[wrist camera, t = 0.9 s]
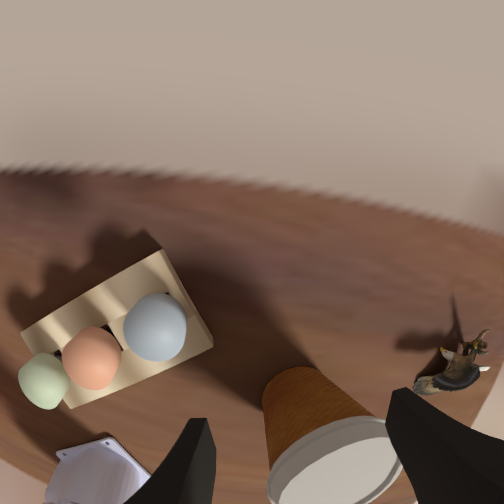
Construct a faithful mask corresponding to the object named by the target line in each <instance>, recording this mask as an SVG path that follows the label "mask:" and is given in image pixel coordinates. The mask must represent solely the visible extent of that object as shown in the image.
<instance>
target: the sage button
mask: <svg viewBox="0 0 504 504" xmlns="http://www.w3.org/2000/svg"><path fill="white" fill-rule="evenodd" d="M18 380H19V384H20V387H21V389H22V391H23V393H24V394H25V395H26V397H27V398H28V399H29V400H30V401H31V402H32V403H34V404H35V405H37V406H38V407H40V408H43V409H53V408H55V407H56V406H57V405H58V403H59V402H60V401H61V399H62V398H63V397H64V395H65V394H66V392H67V391H68V390H69V388H70V377H69V376H68V374H67V373H66V371H65V369H64V366H63V363H62V357H61V356H59V355H54V356H53V355H51V354H48V353H39V354H37V355H35V356H34V357H33V358H32V359H31V360H30V361H28V362H27V363H26V364H25V365H24V366H23V367H22V368H21V369H20V370H19V373H18Z"/></svg>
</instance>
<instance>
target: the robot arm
mask: <svg viewBox="0 0 504 504" xmlns="http://www.w3.org/2000/svg"><path fill="white" fill-rule="evenodd" d="M385 427H386V430H387V433H388V436H389V439H390V441H391V444H392V446H393V448H394V450H395V452H396V454H397V456H398V458H399V460H400V462H401V464H402V466H403V468H404V470H405V472H406V474H407V476H408V478H409V480H410V482H411V484H412V486H413V489H414V492H415V495H416V498H417V501H418V504H504V440H501V439H498V438H494V437H491V436H488V435H485V434H483V433H481V432H478V431H476V430H474V429H471V428H469V427H467V426H465V425H463V424H462V423H460V422H458V421H456V420H454V419H453V418H451V417H449V416H448V415H446V414H444V413H443V412H441V411H440V410H438V409H437V408H435V407H434V406H432V405H431V404H429V403H428V402H427V401H425V400H424V399H422V398H421V397H420V396H418V395H417V394H415V393H414V392H412V391H411V390H410V389H408V388H407V387H404V388H401V389H397V390H394V391H393V392H392V397H391V401H390V405H389V409H388V414H387V417H386V421H385ZM107 442H108V443H107ZM56 455H57V456H58V457H59V459H60V462H59V464H58V466H57V468H56V470H55V472H54V474H53V476H52V478H51V480H50V482H49V484H48V486H47V488H46V491H45V502H46V503H43V504H211V502H212V495H213V489H214V482H215V475H216V447H215V444H214V441H213V438H212V435H211V431H210V428H209V425H208V421H207V418H190V419H189V420H188V422H187V424H186V426H185V428H184V429H183V431H182V433H181V435H180V436H179V438H178V439H177V441H176V443H175V444H174V446H173V447H172V449H171V450H170V452H169V453H168V455H167V456H166V458H165V459H164V460H163V462H162V463H161V464H160V466H159V467H158V468H157V469H156V471H155V472H154V473H153V474H152V476H151V475H150V474H149V473H148V472H147V471H146V470H145V469H144V468H143V467H142V466H141V465H140V464H139V463H138V462H136V461H135V460H134V459H133V458H132V457H131V456H130V455H129V454H128V453H127V452H126V450H125V449H124V448H123V447H122V446H121V445H120V444H119V443H118V442H117V441H116V440H115V439H114V438H112V437H107V438H104V439H100V440H97V441H93V442H90V443H86V444H83V445H79V446H75V447H71V448H67V449H63V450H59V451H57V452H56Z"/></svg>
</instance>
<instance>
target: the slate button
mask: <svg viewBox="0 0 504 504" xmlns="http://www.w3.org/2000/svg"><path fill="white" fill-rule="evenodd" d="M186 329H187V315H186V312H185V310H184V308H183V306H182V305H181V304H180V303H179V302H178V301H177V300H176V299H175V298H173V297H172V296H170V295H167V294H164V293H151V294H148V295H145V296H144V297H142V298H141V299H140V300H139V301H138V302H137V303H136V304H135V305H134V307H133V308H132V309H131V310H130V311H129V313H128V314H127V316H126V317H125V320H124V324H123V334H124V338H125V341H126V343H127V345H128V346H129V347H130V349H131V350H132V351H133V352H134V353H135V354H136V355H138V356H139V357H141V358H143V359H146V360H149V361H154V362H161V361H166V360H169V359H171V358H173V357H174V356H176V355H177V354H178V353H179V351H180V350H181V349H182V347H183V344H184V341H185V335H186Z"/></svg>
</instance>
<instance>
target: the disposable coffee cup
mask: <svg viewBox="0 0 504 504" xmlns="http://www.w3.org/2000/svg"><path fill="white" fill-rule="evenodd" d="M262 405H263V413H264V422H265V433H266V440H267V449H268V458H269V467H270V473H269V477H268V480H267V488H266V491H267V495H268V498H269V500H270V501H271V502H272V504H368V503H370V502H371V501H373V500H374V499H376V498H377V497H378V496H379V495H381V494H382V493H383V492H384V491H385V490H386V489H387V488H388V487H389V486H390V485H391V484H392V483H393V482H394V481H395V480H396V478H397V477H398V475H399V474H400V472H401V470H402V468H403V466H402V464H401V462H400V460H399V458H398V456H397V454H396V452H395V450H394V448H393V446H392V444H391V441H390V439H389V436H388V433H387V430H386V427H385V421H386V420H384V419H381V418H377V417H376V416H374V415H373V414H371V412H369V411H368V410H366V409H365V408H364V407H362V406H361V405H360V404H359V403H357V402H356V401H355V400H353V398H351V397H350V396H349V395H347V394H346V393H345V392H344V391H342V390H341V389H340V388H339V387H338V386H336V385H335V384H334V383H333V382H331V381H330V380H329V379H328V378H327V377H325V376H324V375H323V374H322V373H321V372H319V371H318V370H316V369H314V368H311V367H294V368H290V369H287V370H285V371H283V372H281V373H279V374H278V375H276V376H275V377H274V378H273V379H272V380H271V381H270V382H269V383H268V384H267V386H266V387H265V389H264V392H263V395H262Z"/></svg>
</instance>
